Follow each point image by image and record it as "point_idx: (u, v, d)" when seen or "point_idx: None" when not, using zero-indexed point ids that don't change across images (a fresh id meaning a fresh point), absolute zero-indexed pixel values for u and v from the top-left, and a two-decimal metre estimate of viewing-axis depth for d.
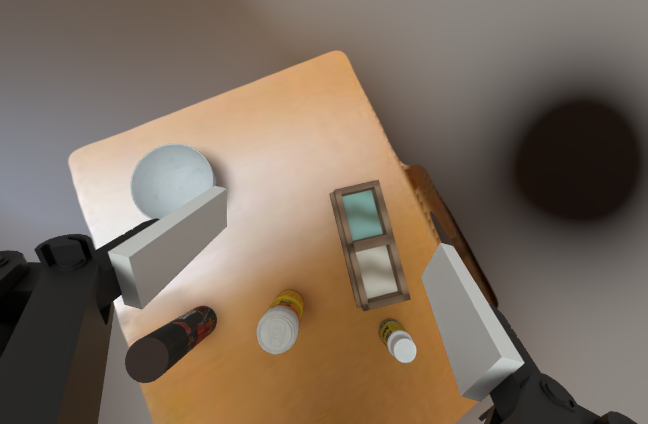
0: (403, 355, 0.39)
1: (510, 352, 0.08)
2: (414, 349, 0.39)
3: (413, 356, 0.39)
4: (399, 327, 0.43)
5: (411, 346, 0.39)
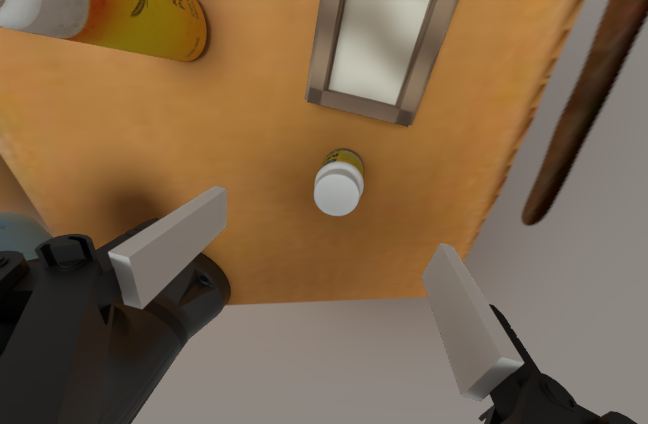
0: (329, 201, 0.20)
1: (510, 352, 0.08)
2: (353, 202, 0.20)
3: (345, 211, 0.20)
4: (355, 163, 0.22)
5: (351, 195, 0.19)
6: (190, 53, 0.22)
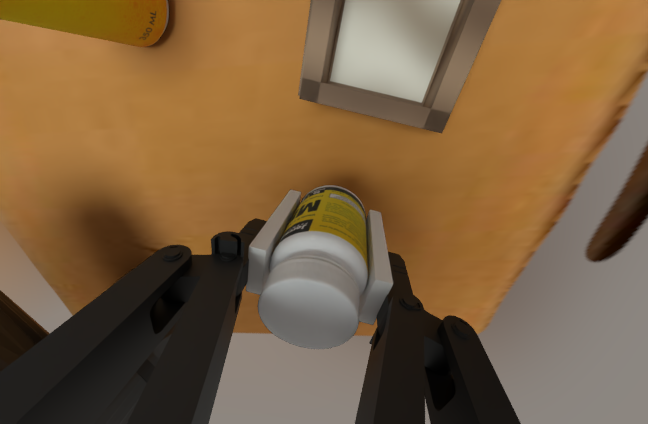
0: (292, 325, 0.09)
1: (385, 277, 0.10)
2: (346, 331, 0.09)
3: (328, 344, 0.09)
4: (350, 226, 0.11)
5: (341, 319, 0.09)
6: (145, 34, 0.16)
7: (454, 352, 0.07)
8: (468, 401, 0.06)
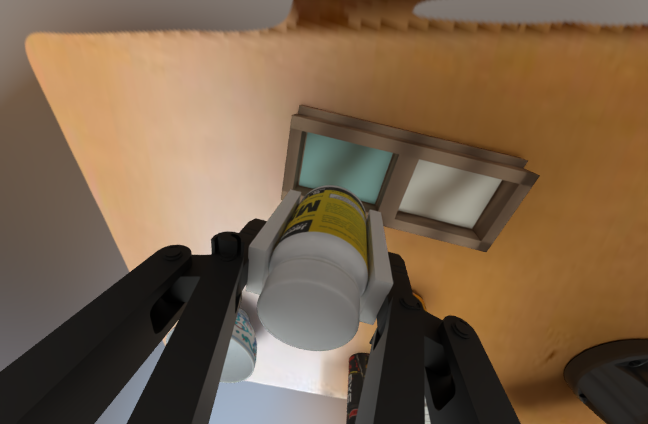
0: (291, 327, 0.09)
1: (385, 277, 0.10)
2: (346, 333, 0.09)
3: (328, 346, 0.09)
4: (351, 226, 0.11)
5: (341, 321, 0.08)
6: (425, 307, 0.33)
7: (454, 352, 0.07)
8: (468, 401, 0.06)
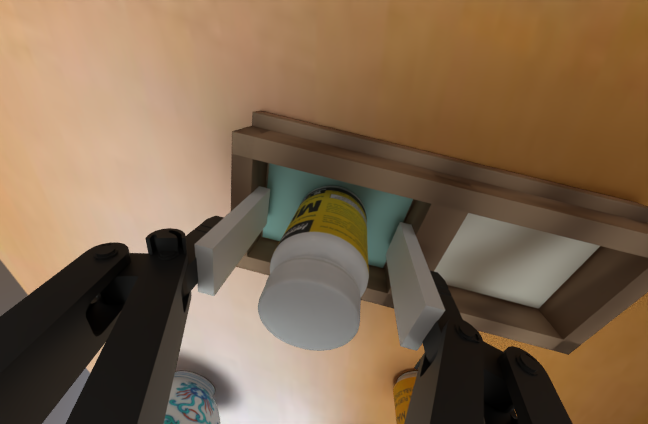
0: (292, 326, 0.09)
1: (435, 302, 0.09)
2: (347, 333, 0.09)
3: (329, 345, 0.09)
4: (351, 226, 0.11)
5: (341, 321, 0.08)
6: None
7: (518, 386, 0.07)
8: None
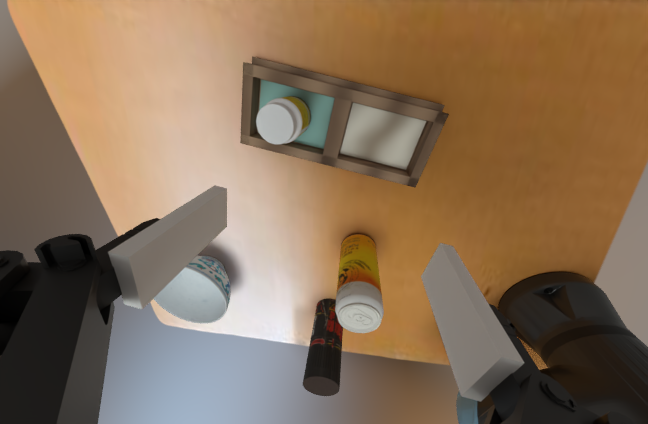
0: (269, 130, 0.24)
1: (510, 352, 0.08)
2: (289, 130, 0.23)
3: (284, 139, 0.24)
4: (296, 102, 0.26)
5: (287, 123, 0.23)
6: (374, 246, 0.38)
7: None
8: None
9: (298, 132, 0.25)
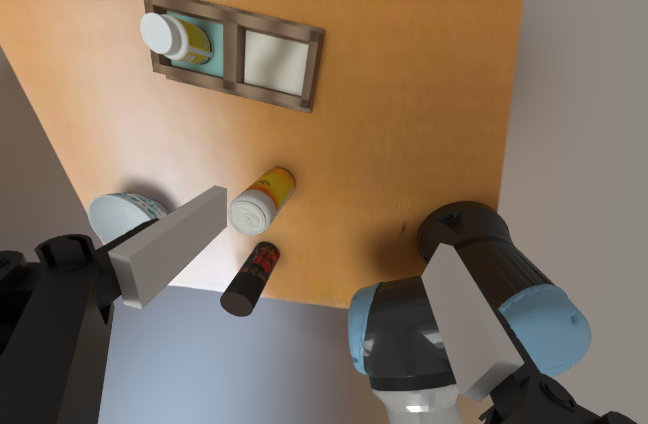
0: (152, 39, 0.27)
1: (510, 352, 0.08)
2: (168, 38, 0.27)
3: (166, 48, 0.28)
4: (184, 22, 0.30)
5: (165, 31, 0.27)
6: (289, 178, 0.41)
7: None
8: None
9: (185, 47, 0.29)
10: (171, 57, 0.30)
